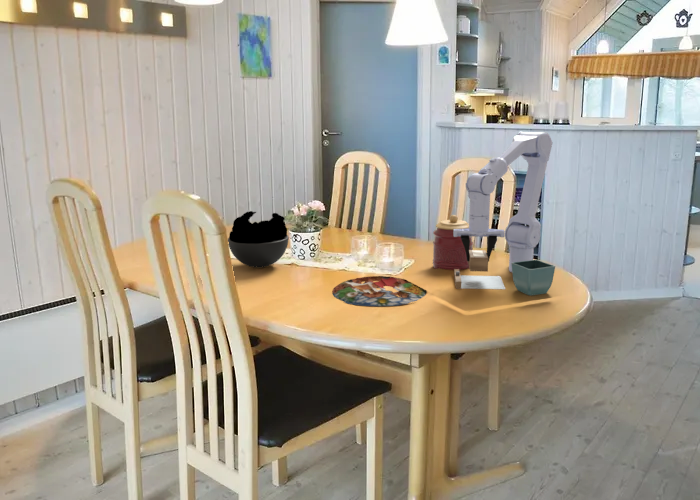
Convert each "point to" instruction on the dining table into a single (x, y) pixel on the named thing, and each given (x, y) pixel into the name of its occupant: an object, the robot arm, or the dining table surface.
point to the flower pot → (532, 276)
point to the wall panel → (477, 281)
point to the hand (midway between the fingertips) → (477, 260)
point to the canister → (450, 245)
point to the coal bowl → (258, 240)
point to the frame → (478, 260)
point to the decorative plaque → (378, 291)
